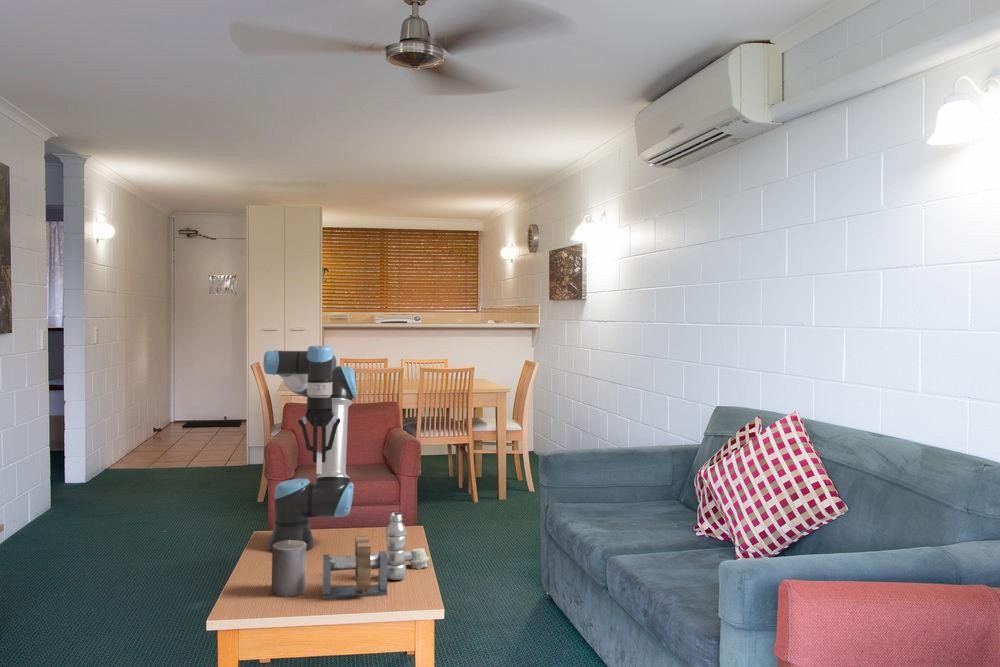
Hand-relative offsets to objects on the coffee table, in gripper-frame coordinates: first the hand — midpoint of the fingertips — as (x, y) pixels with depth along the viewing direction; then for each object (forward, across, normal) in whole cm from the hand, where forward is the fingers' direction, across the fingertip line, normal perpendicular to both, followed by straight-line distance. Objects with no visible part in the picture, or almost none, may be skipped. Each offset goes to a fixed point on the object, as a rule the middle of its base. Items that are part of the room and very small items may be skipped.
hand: (319, 473), depth 238 cm
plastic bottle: (+33, +23, -6) cm, 40 cm away
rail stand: (+32, +10, -16) cm, 37 cm away
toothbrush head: (+33, +22, +6) cm, 40 cm away
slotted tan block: (+29, +12, -16) cm, 35 cm away
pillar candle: (+33, -9, -10) cm, 35 cm away
